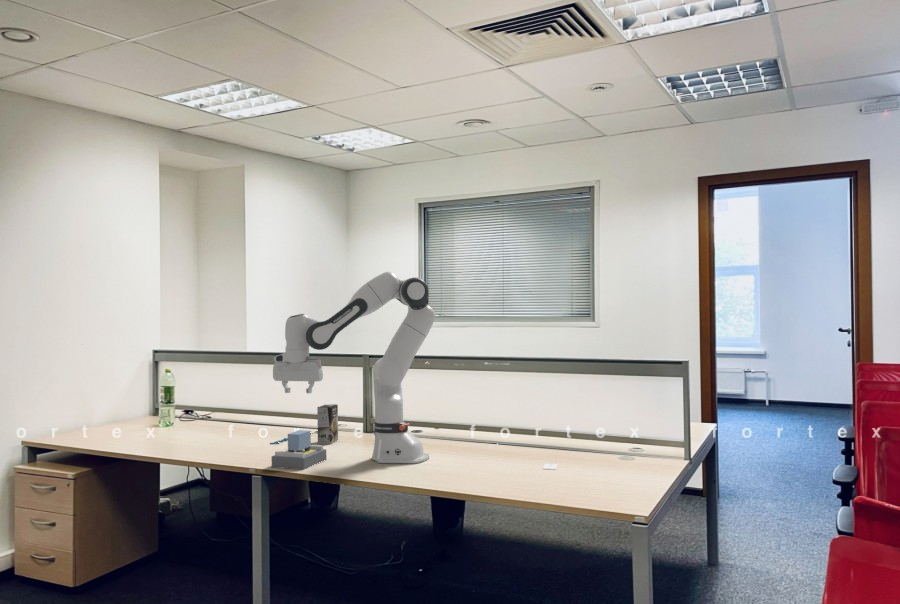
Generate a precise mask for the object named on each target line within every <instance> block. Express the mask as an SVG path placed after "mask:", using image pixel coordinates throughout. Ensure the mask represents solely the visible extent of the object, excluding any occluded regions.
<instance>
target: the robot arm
mask: <svg viewBox="0 0 900 604" xmlns="http://www.w3.org/2000/svg"><path fill="white" fill-rule="evenodd" d="M429 293H430V291H429V286H428V285H427V282H425V281H424V280H423V279H422V278H419V277H410V278H406V279H404V280H401V279H399V277H398V276H397V275H396V274H395V273H394V272H391V271H384V272H383V273H381V274H378V275H377V276H374V277H373V278H372V279H370V280H369V281H367V282H366V283H364V284H363V285H362V286H361V287H360V288H359V289H357V290H356V291H355V292H354V294H353V295H352V297H351V298H350V300H349V301H348V303H347V304H346V305H345V306H344V307H343V308H342V309H340V310H339V311H337V312H336V313H335V314H333V315H332V316H331V317H329V318H327V319H326V320H324V321H320V320H317V319H314V318H312V317H310V316H309V315H307V314H306V313H299V314H294V315H291V316H289V317H288V318H287V319H286V321H285V325H284V326H285V327H284V339H285V342H286V343H285V344H286V345H285V352H283V353H281V354H278V355H275V356H273V361H274V363H273V366H272V378H273V380H274V381H275V382H281V385H282V387H283V389H284V393H285V394H289V393H291V387H289V386H288V383H289V382H308V387H307V388H306V389H305V393H306V394H312V392H313V387H314V385H315V382H320V381H321V382H322V381H323V379H324V373H323V367H322V366H323V363H322V362H323V361H322V359H321V358H319V357H318V356H310V347H311V349H314V350H318V351H323V350H326V349H328V348H329V347H330V346H331V345H332V343H333V342H334V340H335V338H336V336H337V335H338V334H339V333H340V332H341V331H342V330H344V329H345V328H346V327H348V326H349V325H350V324H352V323H354V322H355V321H356V320H358V319H360V318H362V317H365V316H368V315H371V314H372V313H374V312H376V311H378V310H379V309H380V308H383V306H385V305H387V304H388V303H390V301H392V300H394V299H396V300H397V301H398V302H400V303H401V304H402V305H404V306H406V307H407V308H408V310H407V314H406V315H405V317H404V319H403V321H402V322H401V324H400V325H399V327H398V329H397V330H396V332H395V334H394V335H393V337H392V339H391V341H390V343H389V345H388V346H387V349H386V351H385V352H384V355H383V356H382V357H381V358H379V359H377V361H376V362H375V363H374V365H373V367H372V378H373V379H372V381H373V382H372V383H373V397H374V423H373V434H374V443H373V444H374V445H373V451H372V455H371V459H372V460H373V461H375V462H376V463H378V464H419V463H423V462H425V461H427V460H428V459H430V454H429V453H427V452H425V450H424V445H423V442H422V441H421V440H420V439H419V438H418V437H416V436H415V435H414V434H413V433H412V432H411V431H409V428H408V427H409V426H410V422H408V423H407V422H405V420H404V399H403V389H402V382H403V380H404V379H405V377H406V374H407V373H408V371H409V369H410V367H411V365H412V363H413V361H414V358H415V356H416V355H417V353H418V351H419V349H420V348H421V346H422V344H423V343H424V341H425V339H426V338H427V336H428V334H429V332H430V331H431V329H432V326H433V324H434V322H435V319H436V312H435V310H434V309H433V308H432V307H431V306H430V305H429V295H430V294H429Z"/></svg>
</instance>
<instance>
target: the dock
mask: <svg viewBox="0 0 900 604" xmlns="http://www.w3.org/2000/svg"><path fill="white" fill-rule="evenodd" d="M310 447H311V448H310V450H309V451H305V449H303V452H302V453H299V452H296V450H294V452H288V450H285V451H280V450H279V451H278V450H277V451H274V455H271V468H277V467H284V468H283V469H291V468H294V469H295V470H306V469H308V467H309V468H311V467H313V466H315V465H314V464H316V465H318V464H320V463H322V462H324V460H325V461H327V449H324V445H321V444H317V445H316V444H311V446H310ZM321 461H322V462H321ZM319 462H320V463H319ZM317 463H318V464H317ZM312 465H313V466H312ZM310 466H311V467H310Z"/></svg>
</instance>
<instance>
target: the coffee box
mask: <svg viewBox="0 0 900 604" xmlns="http://www.w3.org/2000/svg"><path fill="white" fill-rule="evenodd" d="M338 406H339V405H338V404H323V405H321V406H317V409H316V411H317V430H318V432H317V445H331V444H332V445H333V442H334V443H336V442H337V440H338V441H339V421H338V420H339V417H338V416H339V415H338V414H339V413H338V412H339V411H338V410H339V409H338ZM335 441H336V442H335Z"/></svg>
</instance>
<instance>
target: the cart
mask: <svg viewBox="0 0 900 604" xmlns="http://www.w3.org/2000/svg"><path fill="white" fill-rule="evenodd" d="M310 432H311V430H296V431H293V432H289V433H287V438H288V441H287V451H288V452H294V450H296V452H299V453H302V452H303V449H305V451H309V450H310V448H311V447H310V446H311V445H312V444H311V442H312V440H311V439H312V438H311V435H312V434H311V433H310Z"/></svg>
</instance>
